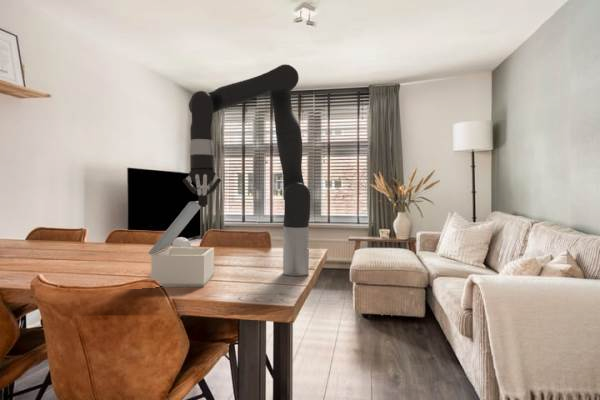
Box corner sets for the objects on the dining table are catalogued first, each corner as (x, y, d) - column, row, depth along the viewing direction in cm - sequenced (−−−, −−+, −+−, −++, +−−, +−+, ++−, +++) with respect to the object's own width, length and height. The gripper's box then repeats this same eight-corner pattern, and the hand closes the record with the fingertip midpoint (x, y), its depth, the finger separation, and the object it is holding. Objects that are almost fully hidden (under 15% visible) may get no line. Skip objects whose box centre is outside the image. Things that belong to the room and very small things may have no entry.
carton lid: (204, 202, 126) (202, 200, 126) (192, 203, 109) (189, 201, 109) (168, 246, 126) (166, 245, 126) (150, 254, 109) (148, 252, 109)
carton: (214, 275, 126) (214, 247, 126) (203, 287, 110) (204, 255, 110) (168, 275, 125) (168, 247, 125) (151, 287, 109) (151, 255, 109)
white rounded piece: (170, 268, 137) (171, 236, 137) (181, 267, 140) (182, 235, 140) (180, 273, 129) (181, 239, 129) (192, 271, 132) (192, 238, 132)
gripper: (224, 155, 121) (225, 206, 122) (184, 155, 121) (186, 206, 121) (220, 152, 114) (221, 207, 114) (178, 153, 113) (179, 207, 113)
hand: (203, 206), depth 118 cm, fingers closed
